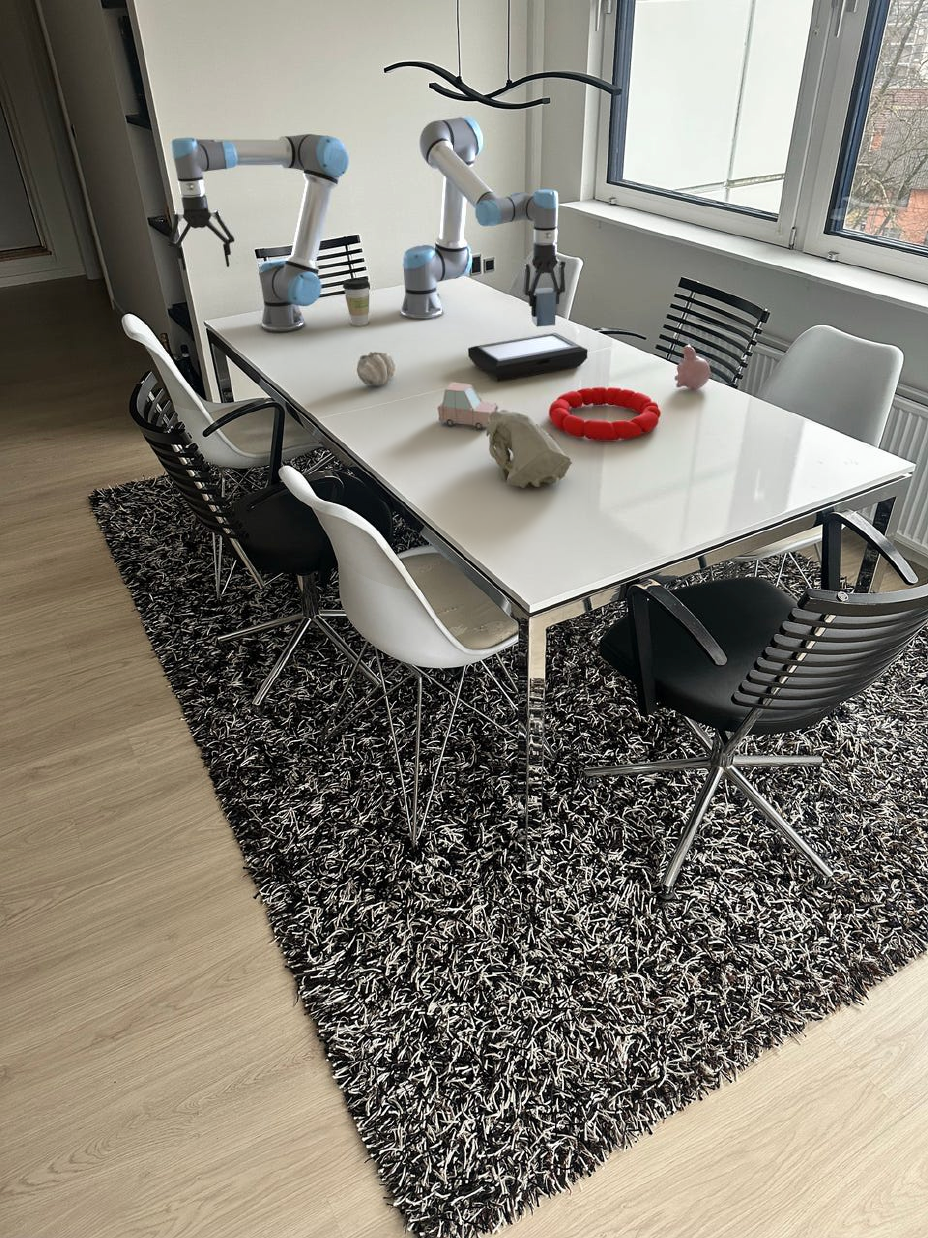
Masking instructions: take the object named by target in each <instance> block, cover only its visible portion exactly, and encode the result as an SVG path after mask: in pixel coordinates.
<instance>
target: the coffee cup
mask: <svg viewBox="0 0 928 1238" xmlns="http://www.w3.org/2000/svg"><path fill="white" fill-rule="evenodd" d="M370 287H371V283H370V282H369V279H367V278H365V277H351V278H347V279H345V280H344V281H343V285H342V288H343V290H344V297H345V301H346V305H347V310H348V314H349V318H350V323H351V325H353V326H357V327H359V326H365V325H368V324H369V317H370V316H369V313H370Z"/></svg>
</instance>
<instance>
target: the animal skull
mask: <svg viewBox="0 0 928 1238" xmlns="http://www.w3.org/2000/svg"><path fill="white" fill-rule="evenodd" d="M485 436H486V438H487V437H489V438H488V440H489V444H488V445H489V446H488V450H489V454H490V456H491V457H492V458H493V459H494V460H495V462H496V464H497V466H499V468H500V470H501V471H502V472H501V478H502V479H507V480H506V484H507V486H517V487H518V486H519V488H523V489H524V488H526V486H527V485H529V483H531V485H533V486H534V487H536V488H540V485H541V484H542V482H544V483H549V484H550V485H553V484H555V483H556V482H557V480H561V479H563V478H565V476H566V474H567V472H568V471H569V469H570V467H571V466H572V464H573V462H572V461H571V458H570V457H568V456H567V455H565V453H564V451H562V449H561V448H560V446H559V444H557V443H556V439H555V438H554V436H553V435H551V434H550V433H548V432H547V431H546V430H545V429H544V428H542V427H541V426H539V425H538V424H537V423H536V424H535V422H534V421H533V419H532V418H531V417H530V416H529V415H527V414H524V413H519V412H515V411H509V410H507V409H502V410H500V411H499V410H497V411H496V412H492V413H491V414H490V422H488V423H487V427H486V435H485ZM511 453H512V454H511ZM511 455H512V457H513V458H512V460H511ZM507 474H508V475H507Z"/></svg>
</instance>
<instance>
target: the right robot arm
mask: <svg viewBox="0 0 928 1238" xmlns="http://www.w3.org/2000/svg"><path fill="white" fill-rule="evenodd" d="M483 144H484V138H483V133H482V130H481V128H480V126H479V124H478V123H477V121H476V120H474V118H471V117H462V116H459V117H453V118H448V119H447V118H446V119H438V120H433V121H431V122H429V123H427V124H426V125H425V127H424V128H423V129H422V131H421V133H420V137H419V151H420V153H421V156H422V158H423V159H424V161H425V163H427V165H428V166H429V167H430V168H432V169H434V170H438V171H439V172H440V174H442V176H443V183H442V184H443V185H442V199H441V215H440V229H439V230H440V231H439V235H438V236H437V237H436V238H435V242H434V246H433V245H431V244H423V245H415V246H413V247H410V248H408V249H407V250H405V251H404V252H403V257H402V267H403V278H404V298H403V301H402V306H401V316H402V317H403V318H405V319H409V320H415V321H416V320H417V321H418V320H419V321H424V320H432V319H435V318H439V317H441V316H442V315H443V307H442V304H441V301H440V299H439V298H440V295H439V293H438V292H437V283H440V282H444V281H449V280H455V279H459V278H461V277H464V276H466V275H467V274H468V273H469V271H470V270H471V268H472V263H473V255H472V253H471V252H472V250H471V248H470V246H469V245H468V242H467V240H466V239H465V238H464V233H465V221H466V208H467V202H468V203H469V204H470V205H471V206H472V207H473V208H474V215H475V219H476V220H477V221H476V222H477V223H478V224H479V225H480V226H482V227H494V226H497V225H502V224H507V223H513V222H519V221H523V220H524V221H525V220H527V221H531V222H533V247H532V248H533V249H532V250H533V251H532V253H533V254H532V260H531V261H530V262H524V264H523V267H524V279H523V290H522V293H523V295H524V296H527V297H528V306H529V307H531V308H530V309H531V311H530V313H531V315H530V316H531V317H532V316H533V317H535V312H536V297H535V296H534V293H535V290H536V289H537V286H538V284H539V281H540V277H541V276H542V274H548V276H549V278H550V281H551V284H552V289H553V290H554V291H555V292H556V305H559V304H560V295H561V294H563V293H565V292H566V282H565V281H566V280H565V267H566V261H564V260H563V259H558V258H557V252H558V251H557V246H558V244H557V241H558V213H559V210H558V209H559V197H558V195H559V194H558V192H557V191H556V190H554V189H538V190H535V191H534V194H529V193H525V192H513V193H511V194H510V195H508V196H504V197H498V195H497V194H496V193H495V192H494V191H492V189H491V188H490V187H489V186H488V185H487V184H486V183H485V182H484V181H483V180H482V179H481V178H480V177H479V176H478V174H476V173H475V171H473V169H472V167H473V166H474V165H475V156H478V155H479V154H480V152H481V151H482V149H483ZM556 266H557V268H558V281H557V278H556V275H555V270H554V269H555V267H556ZM533 267H534V269H535V271H534V272H533V273H534V274H533V278H532V281H531V283H530V280H531V271H532V268H533ZM558 282H559V284H558Z"/></svg>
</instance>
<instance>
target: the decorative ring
mask: <svg viewBox="0 0 928 1238" xmlns="http://www.w3.org/2000/svg"><path fill="white" fill-rule="evenodd" d="M583 405H584V406H586V407H587V406H591V405H593V406H604V405H608V406H614V407H619V408H624V409H628V410H632V411H635V412H636V413H638V414H639V415H637V416H635V417H632V418H631V419H630V420H625V419H624V420H623V419H622V420H614V421H611V422H609V421H607V420H606V421H605V420H593V419H587V420H586V421H585V419H584V418H582V417H579V416H577V415H573V414H571V413H570V410H571V409H579V408H581V407H582V406H583ZM548 416H549V419H550V422H551V423H552V425H553V426H554V427H555V428H556V429H558V430H559V431H561V432H563V433H567V434H568V435H569V436H573V437H576V438H580V439H582V438H583V437H585V438H586V439H587V440H591V441H601V442H602V441H603V442H608V441H609V442H610V441H611V442H612V441H615V442H616V441H618V440H630V439H634V438H638V437H641V436H642V434H647V433H650V432H651V431H653V430H654V429H655V428H656V427H657V426H658V424H659V422H660V421H659V420H660V417H661V410H660V408H659V405H658V403H657V402H656V401H652V399H651V397H649V396H648V395H646V394H644V393H642V392H635V391H634V390H632V389H628V388H624V389H622V388H620V387H613V386H612V387H611V386H610V387H608V388H606V387H604V386H594V387H585V388H584V387H583V388H580V389H578V390H571V391H568V392H565V393H563V394H561V395H560V396H558V397H557V398H556V400H554V401H552V403H551V404H550V407H549V409H548Z"/></svg>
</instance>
